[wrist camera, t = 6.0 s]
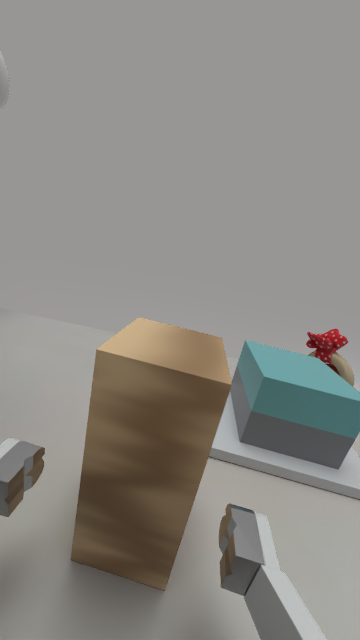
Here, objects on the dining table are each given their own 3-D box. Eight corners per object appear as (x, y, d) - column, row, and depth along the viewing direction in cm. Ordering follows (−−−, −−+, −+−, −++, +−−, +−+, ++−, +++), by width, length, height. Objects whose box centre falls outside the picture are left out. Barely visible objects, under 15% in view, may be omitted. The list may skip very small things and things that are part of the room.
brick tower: (199, 453, 19) (224, 374, 17) (202, 381, 30) (217, 329, 28) (386, 507, 18) (438, 430, 16) (316, 411, 29) (340, 360, 27)
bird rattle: (328, 407, 35) (291, 363, 41) (393, 367, 29) (338, 321, 35) (308, 415, 32) (271, 365, 38) (376, 372, 26) (318, 320, 31)
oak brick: (70, 559, 11) (96, 349, 8) (112, 469, 16) (138, 317, 13) (164, 590, 11) (231, 384, 7) (177, 489, 15) (222, 337, 12)
